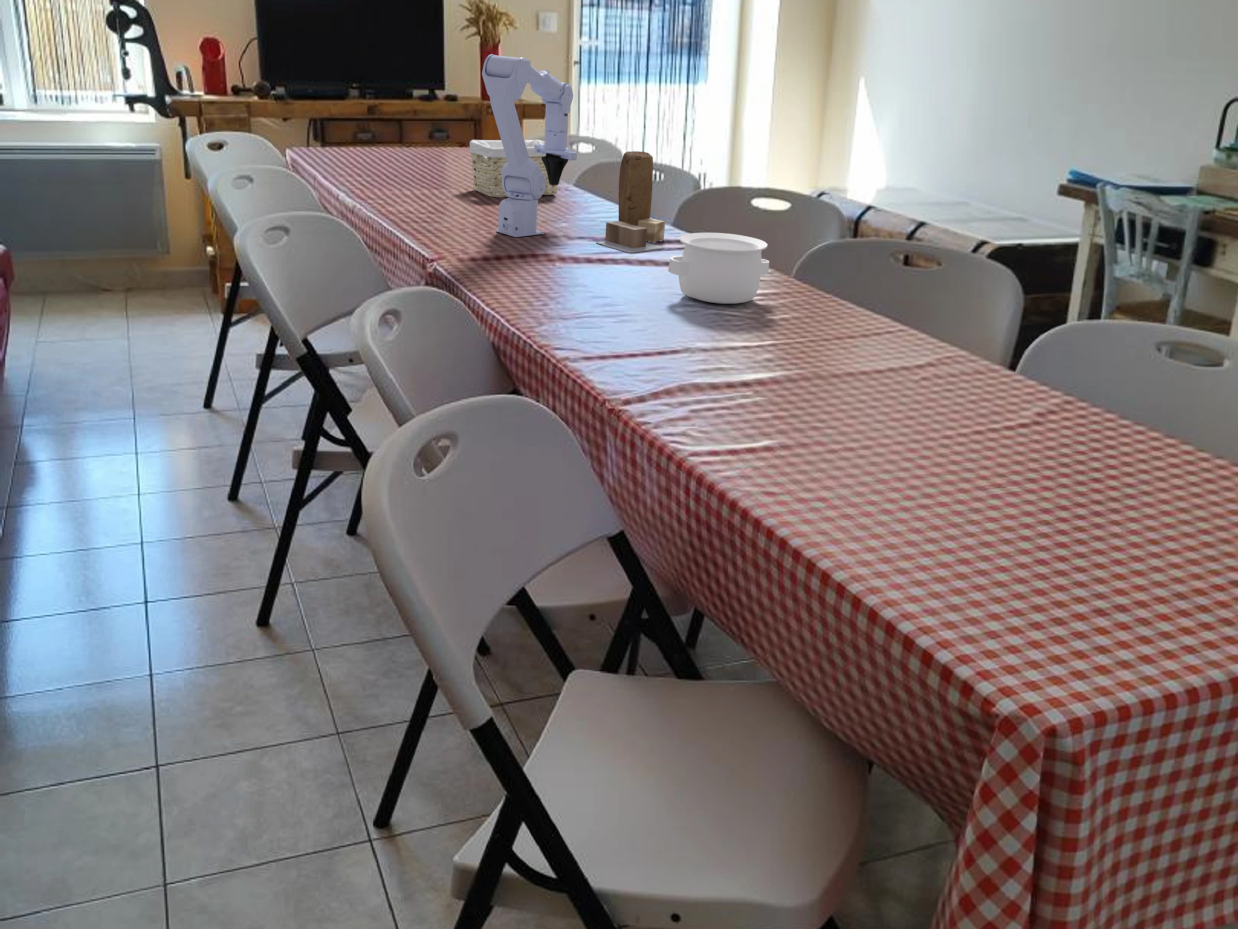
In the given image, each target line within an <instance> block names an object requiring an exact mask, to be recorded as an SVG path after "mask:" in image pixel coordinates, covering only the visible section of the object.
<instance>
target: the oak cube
mask: <svg viewBox="0 0 1238 929" xmlns="http://www.w3.org/2000/svg"><path fill="white" fill-rule="evenodd" d="M638 226H640V227H644V228H647V239H646V241H650V242H656V241H660V240H665V228H666V221H665V220H661V219H653V218H651V217H650V218H647V219H643V220H639V221H638ZM650 242H649V243H650ZM660 242H661V241H660Z"/></svg>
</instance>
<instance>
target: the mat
mask: <svg viewBox="0 0 1238 929" xmlns="http://www.w3.org/2000/svg"><path fill="white" fill-rule="evenodd" d="M596 243H598V244H597V245H599V244H602V245H601V246H602V247H603V246H604V247H606V246H607V248H611V249H614V250H618V251H621V252H624V253H626V254H627V253H628V254H634V253H642V252H648V251H649V252H650V251H657V250H663V249H665V247H664V246H661V245H657V244H655V243H650V242H646V247H639V248H630V247H627V246H623V245H620V244H616V243H613V242H609V241H606V240H605V241H598V242H597V241H596Z"/></svg>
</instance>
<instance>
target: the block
mask: <svg viewBox="0 0 1238 929" xmlns="http://www.w3.org/2000/svg"><path fill="white" fill-rule="evenodd" d="M653 176H654V157H653V155H651V154H650V153H649V152H646V151H637V150H636V151H628V150H627V151H626V152H625V153H623V156H622V159H621V162H620V166H619V176H618V221H622V222H625V223H629V224H633V225H637V226H638V221H639V220H643V219H647V218H650V219H651V212H652V211H651V210H652V200H653V183H654V182H653V180H654V178H653Z"/></svg>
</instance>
